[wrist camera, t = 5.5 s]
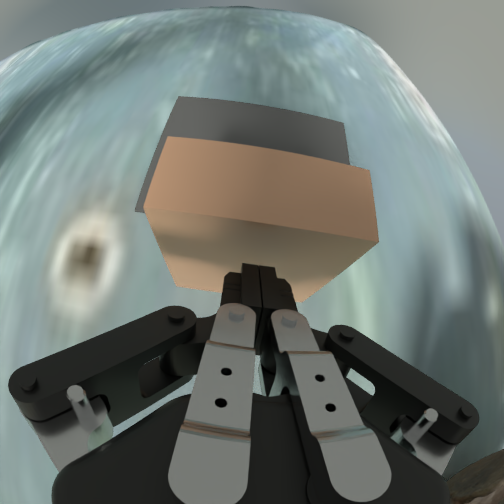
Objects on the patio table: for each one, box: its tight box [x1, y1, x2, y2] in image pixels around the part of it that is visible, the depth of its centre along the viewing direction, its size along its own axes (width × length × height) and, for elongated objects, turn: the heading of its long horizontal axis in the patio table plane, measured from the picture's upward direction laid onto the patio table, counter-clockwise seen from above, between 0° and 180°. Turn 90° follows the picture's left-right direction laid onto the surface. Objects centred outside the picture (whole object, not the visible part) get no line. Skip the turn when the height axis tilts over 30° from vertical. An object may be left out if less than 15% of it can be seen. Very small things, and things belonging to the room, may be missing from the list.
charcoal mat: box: [135, 96, 350, 213], centre depth 28 cm, size 20×16×1 cm
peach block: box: [143, 136, 379, 302], centre depth 18 cm, size 10×4×12 cm, turn 84°
